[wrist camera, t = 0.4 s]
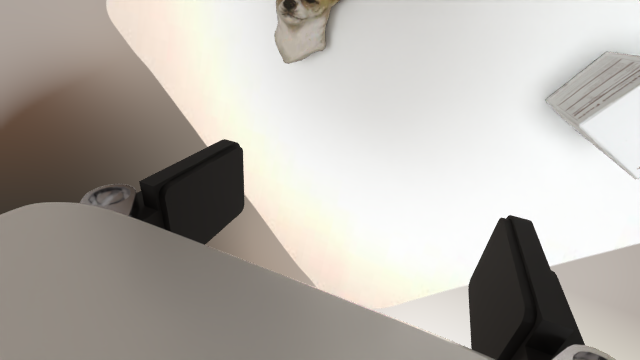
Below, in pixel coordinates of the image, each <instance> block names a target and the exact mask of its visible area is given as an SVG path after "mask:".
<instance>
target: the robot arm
mask: <svg viewBox="0 0 640 360" xmlns="http://www.w3.org/2000/svg"><path fill="white" fill-rule="evenodd" d="M139 182H140V187H141V191H140V192H138V193H136V190H135V189H134V187H132V186H129V185H125V184H113V185H106V186H103V187H99V188H96V189H94V190H92V191H90V192H89V193H87V194H86V195H85V196H84V197H83V199H82V200H81V202H80V204H78V203H67V202H66V203H63V202H49V203H37V204H31V205H27V206H23V207H20V208H17V209H14V210H12V211H9V212H7V213H4V214H1V215H0V360H615V359H614V358H613V357H611V356H610V355H608V354H606V353H604V352H602V351H600V350H598V349H596V348H593V347H589V346H586V345H585V344H584V341H583V339H582V337H581V334H580V332H579V329H578V327H577V324H576V322H575V319H574V317H573V315H572V312H571V310H570V307H569V305H568V302H567V300H566V297H565V295H564V292H563V290H562V288H561V285H560V282H559V280H558V278H557V275H556V274H555V272H553V271H551V270H550V267H549V264H548V262H547V259H546V257H545V254H544V252H543V249H542V246H541V244H540V241H539V239H538V236H537V234H536V231H535V229H534V226H533V223H532V222H531V221H530V220H526V219H523V218H519V217H515V216H511V215H510V216H508V217H507V218H506V219H505V218H500V219H499V221H498V223H497V225H496V227H495V229H494V231H493V233H492V235H491V237H490V240H489V242H488V244H487V246H486V248H485V250H484V252H483V254H482V256H481V258H480V260H479V263H478V265H477V267H476V269H475V271H474V273H473V275H472V277H471V280H470V283H469V309H470V327H471V346H472V349H469V348H467V347H465V346H462V345H460V344H457V343H455V342H453V341H450V340H448V339H446V338H443V337H441V336H438V335H436V334H433V333H431V332H428V331H426V330H423V329H421V328H418V327H415V326H413V325H410V324H408V323H405V322H402V321H400V320H397V319H395V318H392V317H390V316H387V315H385V314H382V313H380V312H377V311H375V310H372V309H369V308H367V307H364V306H362V305H359V304H357V303H354V302H352V301H349V300H346V299H344V298H341V297H339V296H336V295H334V294H331V293H328V292H326V291H323V290H321V289H318V288H315V287H313V286H310V285H308V284H305V283H302V282H300V281H297V280H295V279H292V278H289V277H287V276H284V275H282V274H279V273H276V272H274V271H271V270H269V269H266V268H263V267H261V266H258V265H255V264H253V263H251V262H248V261H245V260H243V259H240V258H238V257H235V256H232V255H230V254H227V253H225V252H222V251H219V250H217V249H214V248H211V247H209V246H206V245H205V244H206V243H207V242H208V241H210V240H211V239H212V238H213V237H214V236H215V235H216V234H217V233H219V232H220V231H221V230H222V229H223V228H224V227H225V226H226V225H227V224H229V223H230V222H231V221H232V220H233V219H234V218H236V217H237V216H238V215H239V214H240V213H241V212H242V210H243V208H244V175H243V150H242V148H241V147H240V145H239V144H238V143H236V142H233V141H229V140H225V139H224V140H221V141H219V142H217V143H215V144H213V145H211V146H209V147H207V148H205V149H203V150H201V151H199V152H197V153H195V154H193V155H191V156H189V157H187V158H185V159H183V160H181V161H179V162H177V163H176V164H173V165H171V166H169V167H167V168H165V169H163V170H162V171H159V172H157V173H155V174H153V175H151V176H150V177H147V178H145V179H143V180H141V181H139Z"/></svg>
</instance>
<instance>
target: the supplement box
mask: <svg viewBox="0 0 640 360" xmlns="http://www.w3.org/2000/svg"><path fill="white" fill-rule="evenodd" d="M545 101H546V102H547V103H548V104H549V105H550V106H551V107H552V108H553V109H554V110H555V111H556V112H557V113H558V114H559V115H560V116H561V117H562V118H563V119H564V120H565V121H566V122H567V123H568V124H569V125H571V126H572V127H573V128H574V129H575V130H576V131H577V132H579V133H580V134H581V135H582V136H584V137H585V138H586V139H587V140H588V141H590V142H591V143H592V144H593V145H595V146H596V147H597V148H598V149H599V150H601V151H602V152H603V153H604V154H605V155H607V156H608V157H609V158H610V159H612V160H613V161H614V162H615V163H616V164H618V165H619V166H620V167H621V168H622V169H624V170H625V171H626V172H627V173H628V174H630V175H631V176H632V177H633V178H635V179H639V178H640V56H635V55H628V54H622V53H614V52H606V53H605V54H603V55H602V56H601V57H600V58H598V59H597V60H596V61H594V62H593V63H592V64H591V65H589V66H588V67H587V68H585V69H584V70H583V71H582V72H580V73H579V74H578V75H576V76H575V77H574V78H573V79H571V80H570V81H569V82H567V83H566V84H565V85H564V86H562V87H561V88H560V89H558V90H557V91H556V92H555V93H553V94H552V95H551V96H549V97H548V98H547V99H546V100H545Z"/></svg>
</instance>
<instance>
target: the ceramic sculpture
mask: <svg viewBox="0 0 640 360" xmlns="http://www.w3.org/2000/svg"><path fill="white" fill-rule="evenodd" d="M339 1H340V0H276V12H277V17H278V26H277V29H276V31H275V42H276V45H277V47H278V50H279V52H280V54H281V56H282V58H283V61H284V62H285V63H288V64H289V63H292V62H297V61H300V60H303V59H305V58H307V57H308V56H309V55H310V54H311V53H314V52H316V51H323V50H324V49H325V47H326V42H325V26H326V24H327V20H328V18H329V13H330V10H331V7H332V6H334V5H335V4H336V3H338V2H339Z"/></svg>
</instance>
